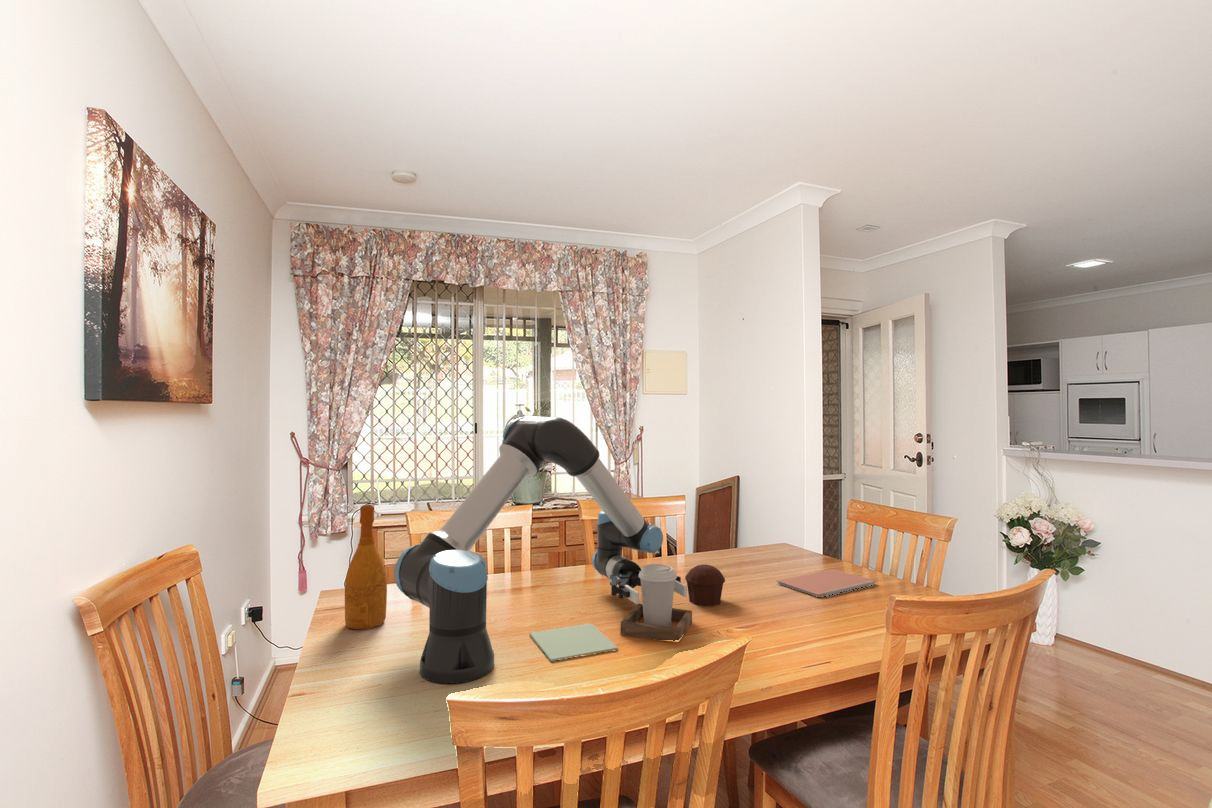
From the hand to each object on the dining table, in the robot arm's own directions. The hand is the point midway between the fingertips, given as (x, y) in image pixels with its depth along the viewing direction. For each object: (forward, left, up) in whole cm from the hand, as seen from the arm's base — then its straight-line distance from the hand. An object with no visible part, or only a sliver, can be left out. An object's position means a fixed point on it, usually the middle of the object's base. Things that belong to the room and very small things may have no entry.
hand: (662, 594), depth 143 cm
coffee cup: (+1, +2, -9) cm, 9 cm away
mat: (-15, +18, -9) cm, 25 cm away
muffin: (+26, -5, -9) cm, 28 cm away
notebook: (+56, -38, -10) cm, 69 cm away
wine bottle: (-24, +71, -9) cm, 75 cm away
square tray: (+1, +2, -9) cm, 9 cm away
